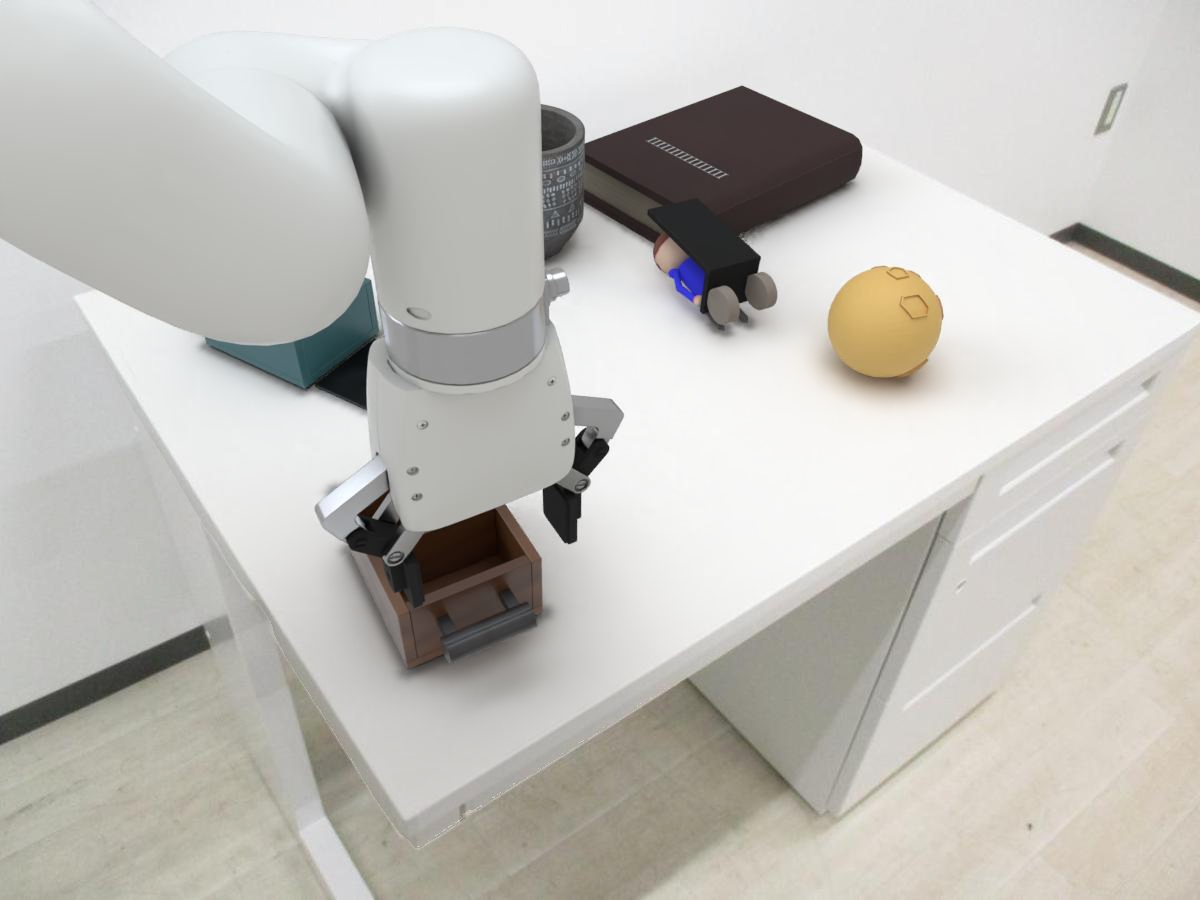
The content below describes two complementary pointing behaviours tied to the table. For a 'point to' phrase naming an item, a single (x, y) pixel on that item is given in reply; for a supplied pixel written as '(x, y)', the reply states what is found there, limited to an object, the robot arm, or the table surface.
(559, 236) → the planter
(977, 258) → the table surface
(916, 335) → the stress ball
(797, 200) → the book
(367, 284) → the teal shelf
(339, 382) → the dark grey flat plate
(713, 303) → the figurine character
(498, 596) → the walnut shelf
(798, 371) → the table surface
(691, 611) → the table surface
